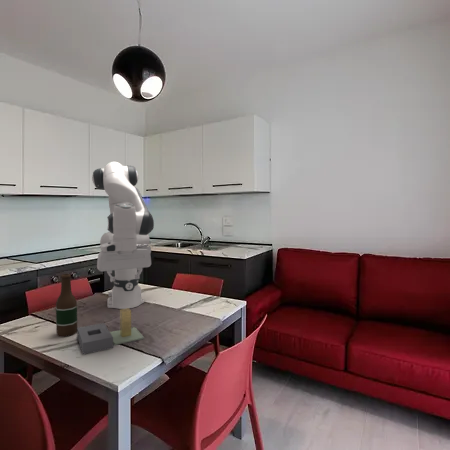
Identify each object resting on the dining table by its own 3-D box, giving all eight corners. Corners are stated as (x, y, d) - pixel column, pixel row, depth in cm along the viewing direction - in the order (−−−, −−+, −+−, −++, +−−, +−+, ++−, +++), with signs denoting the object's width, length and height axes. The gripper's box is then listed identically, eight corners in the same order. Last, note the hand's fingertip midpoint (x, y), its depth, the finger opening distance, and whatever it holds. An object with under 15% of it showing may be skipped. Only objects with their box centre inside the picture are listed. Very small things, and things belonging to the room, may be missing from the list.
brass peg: (120, 334, 125) (119, 309, 124) (128, 332, 127) (128, 308, 126) (122, 337, 122) (121, 312, 121) (131, 335, 124) (131, 310, 123)
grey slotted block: (77, 337, 122) (77, 327, 122) (104, 332, 128) (104, 323, 127) (83, 354, 109) (82, 343, 109) (113, 347, 114) (112, 337, 114)
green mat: (107, 333, 126) (107, 332, 126) (135, 328, 132) (135, 327, 132) (114, 345, 116) (114, 343, 116) (143, 338, 122) (143, 337, 122)
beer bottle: (63, 338, 121) (62, 277, 120) (52, 334, 126) (50, 275, 124) (81, 332, 128) (80, 273, 127) (70, 328, 132) (69, 271, 131)
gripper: (148, 243, 130) (148, 275, 131) (96, 245, 120) (96, 281, 120) (153, 244, 125) (153, 279, 126) (99, 247, 114) (99, 285, 115)
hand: (125, 280), depth 123 cm, fingers open, 8 cm apart
